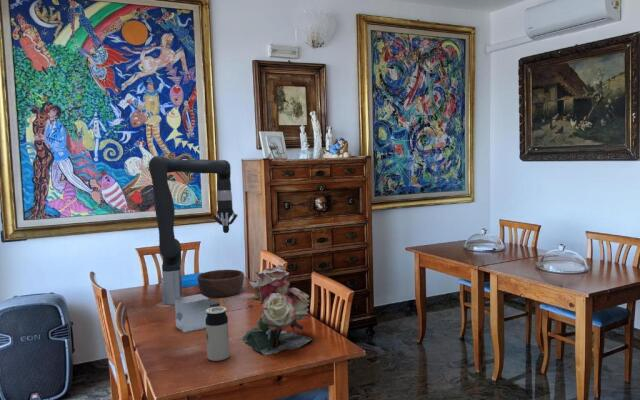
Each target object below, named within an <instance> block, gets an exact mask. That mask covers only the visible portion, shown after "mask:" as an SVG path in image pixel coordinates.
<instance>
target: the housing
mask: <svg viewBox="0 0 640 400" xmlns="http://www.w3.org/2000/svg"><path fill="white" fill-rule="evenodd" d="M209 301H210V297H208V296H205V295H203V294H202V293H200V294H199V293H198V294H193V295H189V296H188V295H187V296H182V298H176V299H175V305H174V312H175V316H176V314H177V313H180V315H181V319H177V318H176V317H175V327H176V328H177V329H179V330H180V331H181V332H183V333H184V334H185V333H189V332H194V331H198V330H202V329H206V320H205V319H206V317H207V313H206V310H207V309H208V308H210V302H209Z"/></svg>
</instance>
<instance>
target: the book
mask: <svg viewBox="0 0 640 400" xmlns="http://www.w3.org/2000/svg"><path fill="white" fill-rule="evenodd" d="M202 273H203V272H197V273H191V274H190V273H189V274H183V275H182V274H181V279H182V288H189V287H195V286H199V284H198V279H197V277H198V275H200V274H202ZM161 284H162V285H163V277H161Z"/></svg>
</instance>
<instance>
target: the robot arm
mask: <svg viewBox="0 0 640 400" xmlns="http://www.w3.org/2000/svg"><path fill="white" fill-rule="evenodd" d="M148 170H149V174H150V178H151V181H152V182H151V183H152V189H153V191H152V192H153V203H154V211H155V216H156V223H157V228H158V242H159V243H158V248H159V249H158V250H159V253H160V254H161V256H162V264H161V270H162V278H163V284H162V285H161V298H162V299H161V301H162V305H166V306H175V299H176V298H182V297H183V287H182V279H181V275H182V267H181V266H182V246H181V242H180V241H179V240H178V239H177V238H176V237H175V231H174V230H175V229H174V225H175V213H176V212H175V204H174V198H173V195H172V192H171V189H170V187H169V181H168V174H169V173H189V174H216V175H217V181H216V205H217V211H216V213H215V214H214V215H212V217H213V219H214V220H215V221H216V223H218V225H221V226H222V232H223V233H224V234H227V233H230V225H232V224H233V223H234V222H235V220H236V219H237V218H238V216H239V214H237V213H235V211H234V207H233V195H232V182H231V175H232V174H231V173H232V171H231V164H230V162H229V161H228V160H225V159H214V160H213V159H211V160H209V159H194V158H193V159H175V158H170V157H166V156H164V155H163V156H161V155H156V156H153V157H151V159H150V160H149V162H148ZM231 217H232V218H231ZM230 218H231V220H230Z"/></svg>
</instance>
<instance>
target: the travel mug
mask: <svg viewBox="0 0 640 400" xmlns="http://www.w3.org/2000/svg"><path fill="white" fill-rule="evenodd" d="M227 310H228V309H227V307H225V306H220V307H212V308H208V309H207V310H206V313H207V317H206V319H205V320H206V328H205V334H206V335H205V337H206V353H207V354H206V356H207V359H208V360H210V361H212V362H213V361H214V362H218V361H219V362H221V361H224V360H226V359H228V358H229V357H230V339H229V319H228V315H227V314H226V312H227Z"/></svg>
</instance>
